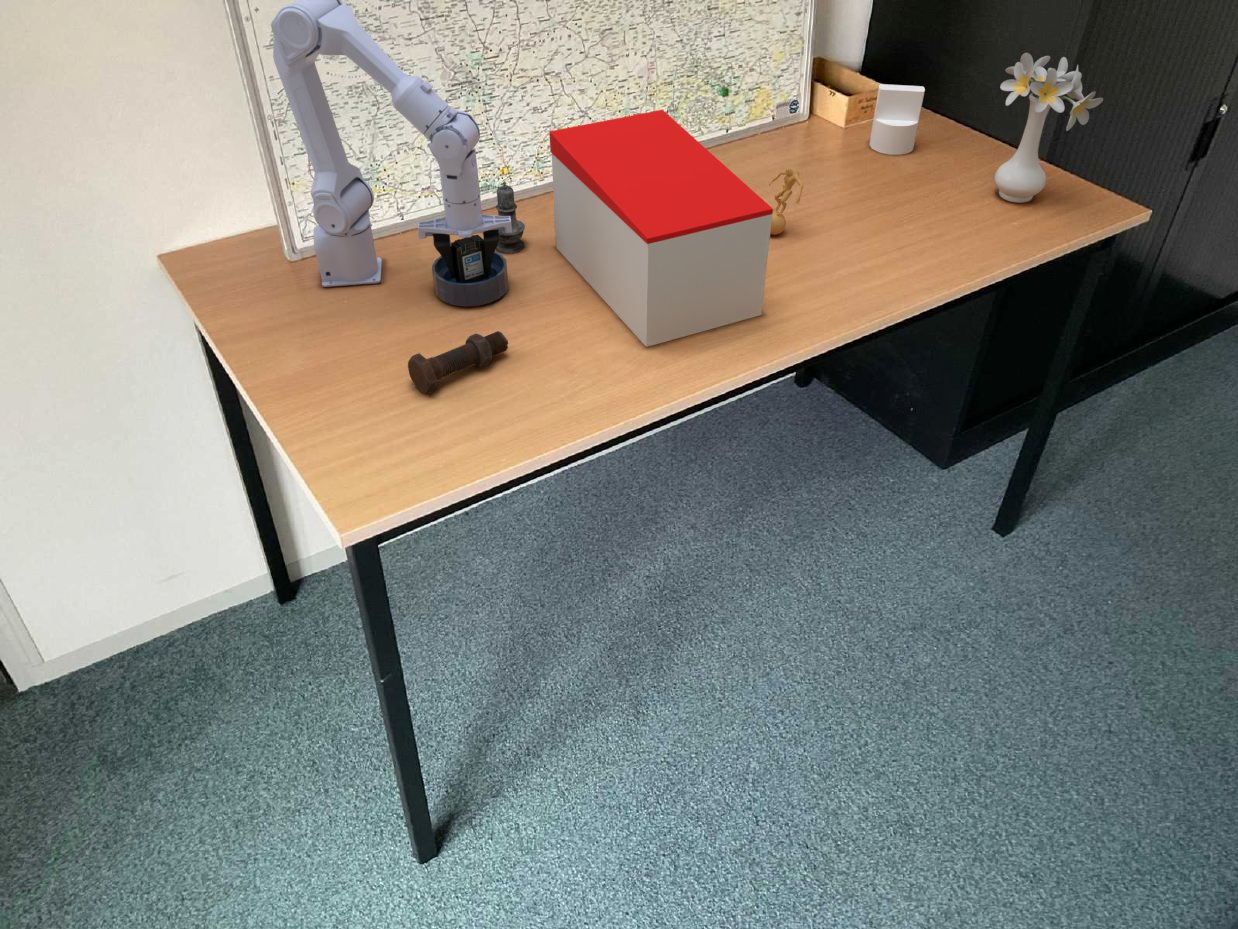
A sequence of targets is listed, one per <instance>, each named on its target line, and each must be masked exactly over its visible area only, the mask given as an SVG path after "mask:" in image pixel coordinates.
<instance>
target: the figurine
mask: <svg viewBox="0 0 1238 929" xmlns="http://www.w3.org/2000/svg"><path fill="white" fill-rule="evenodd" d="M782 175H783V176H784V177H783V180H784V181H783V182H784V184H781V186H780V188H779V190H778V191H777V193H775V195H774V200H775V201H776V203H777V206H776V207H775V208H774V209H773V213H772V221H771V231H770V235H771V236H772V235H774V236H775V235H779V234H781V233H783V231H785V228H786V225H787V220H786V217H785V216H784V215H783V214H784V212H785V210H786V208H787V205H788V204H787V201H788V200H789V198H790V197H791V196H792V195H793V190H792V188H793V186H794V185H795V183H797V184H798V186H799V190H798V194H797V198H796V199H795V204H796V205H799V204H800V202H801V196H802V192H803V189H804V184H803V182H802V180H801V178H800V171H799V169H797V168H791V167H787V168H786V169H785V170H782V171H780V172H779V173H778V174H777V175H776V176H774V177H773V178H772V180H771V181H770V183H769V184H768V187H771V185H772V184H773V183H774V182H775V181H777V180H778V179H779V178H780V177H781V176H782ZM780 197H781V199H780ZM781 206H782V208H781V210H780V211H778V210H779V209H780V207H781Z"/></svg>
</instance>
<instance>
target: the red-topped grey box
mask: <svg viewBox="0 0 1238 929" xmlns="http://www.w3.org/2000/svg"><path fill="white" fill-rule="evenodd" d="M548 134H549V135H548V136H549V151H550V153H551V168H552V172H551V173H552V191H553V192H552V193H553V194H552V195H553V210H554V211H553V212H554V213H553V214H554V215H553V216H554V232H555V234H554V235H555V236H554V237H555V248H556V249H557V250H558V251H559V252H560V254H561V255H562V256H563V257H564V258H565V259H566V260H567V261H568V263H569V264H570V265H571V266H572V267H573V268H574V269H575V270H576V271H577V272H578V273H579V275H581V277H582V278H583V279H584V280H585V281H586V282H587V284H588V285H589V286H590V287H591V288H592V289H593V290H594V291H595V293H596V294H597V295H598V296H599V297H600V298H601V299H602V300H603V301H604V302H605V303H606V304H607V305H608V307H609V309H611V311H613V312H614V313H615V314H616V316H617V317H618V318H619V319H620V320H621V321H622V322H623V323H624V324H625V326H626V327H627V328H628V329H629V330H630V331H631V332H632V333H633V334H634V335H635V337H636V338H637V339H638V340H639V341H640V342H641V343H642V344H643V345H644V347H646V348H648V347H652V346H655V345H659V344H662V343H666V342H670V341H673V340H677V339H680V338H685V337H687V336H691V335H695V334H699V333H703V332H705V331H710V330H713V329H716V328H720V327H723V326H727V325H731V324H735V323H738V322H741V321H745V320H749V319H753V318H756V317H760V316H762V313H763V307H764V306H763V304H764V296H765V286H766V276H767V268H768V258H769V250H770V239H771V234H770V231H771V221H772V213H773V210H774V209H773V207H772V206H770V204H768V203H767V202H766V201H765V200H764V199H763V198H762V197H761V196H759V195H758V193H756V191H754V190H753V189H752V188H751V187H750V186H748V185H747V184H746V183H745V182H744V181H743V180H741V178H739V177H738V176H737V175H736V174H735V173H734V172H732V171H731V169H729V168H728V166H726V165H725V164H724V163H723V162H721V161H720V159H718V157H716V156H715V155H714V154H713V153H712V152H710V150H708V148H706V147H705V146H704V145H703V144H702V143H700V142H699V141H698V140H697V139H696V138H695V137H694V136H693V135H692V134H690V133H689V132H688V131H687V130H686V129H685V128H683V126H681V125H680V124H679V123H678V122H677V121H676V120H675V119H674V118H672V116H670V115H669V114H668V113H667V112H666V111H665V110H664V109H659V110H653V111H648V112H643V113H637V114H632V115H628V116H622V117H616V118H612V119H611V118H610V119H606V120H601V121H596V122H591V123H586V124H580V125H574V126H569V127H564V128H560V129H555V130H549V133H548Z"/></svg>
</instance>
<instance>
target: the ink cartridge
mask: <svg viewBox="0 0 1238 929" xmlns="http://www.w3.org/2000/svg"><path fill="white" fill-rule="evenodd" d="M451 252H452V258H453V265H454V269H455V278H456V283H476V282H480V281H484V280H487V279H489V276H488V275H486V269H485V248H484V237H482V236H480V235H479V234H472V237H467V238H458V239H456V240H454V241H453V242H451Z"/></svg>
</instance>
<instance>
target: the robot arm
mask: <svg viewBox="0 0 1238 929" xmlns="http://www.w3.org/2000/svg"><path fill="white" fill-rule="evenodd" d="M270 28H271V30H272V33H273V35H274V36H273V37H274V39H273V49H272V50H273V52H272V54H273V55H272V58H273V62H274V65H275V68H276V70H277V73H278V76H279V79H280V81H281V84H282V87H283V89H284V92H285V96H286V98H287V101H288V103H289V106H290V109H291V112H292V115H293V117H294V119H295V123H296V126H297V128H298V131H299V133H300V136H301V139H302V141H303V145H304V147H305V150H306V153H307V155H308V158H309V160H310V164H311V166H312V170H313V171H314V177H313V179H312V185H311V189H310V196H311V198H312V203H313V208H312V209H313V210H312V215H313V218H314V220H315V222H316V224H317V226H316V225H315V226H314V227H313V246H314V251H315V255H316V261H317V265H318V269H319V275H320V278H321V286H322V287H323V288H332V287H343V286H357V285H368V284H369V285H370V284H379V283H381V280H382V267H383V258H382V257H377V252H376V246H375V240H374V236H373V235H374V234H373V229H372V224H371V218H370V217H371V214H370V209H372V207H373V205H374V201H375V195H374V191H373V190H372V187H371V186H370V185H369V183H368V182H367V181H366V180H365V178H364V177H363V175H362V171H361V168H359V167H358V166H356V165H354V164H353V163H350V162H349V160H348V157H347V154H346V151H345V147H344V144H343V142H342V139H341V135H340V133H339V130H338V127H337V124H336V121H335V118H334V114H333V113H332V110H331V107H330V104H329V101H328V98H327V95H326V92H325V89H324V86H323V83H322V80H321V78H320V75H319V72H318V68H317V65H316V60H317V59H318V57H319V55H321V56H345V57H346V58H348V59H349V60H350V61H351V62H352V63H354V64H355V66H357V67H358V68H360V69H361V70H362V71H363V72H364V73H365V74H366V75H368V76H370V78H372V79H373V80H374V81H375V82H377V83H378V85H380V86H381V87H382V88H383V89H385V90H386V91H387V92H388V93H390V96H391V101H392V107H393V108H394V109H395V110H396V111H397V112H398V113H399V114H400V115H401V116H402V117H403V118H405V119H406V121H408V122H409V123H410V124H411V125H412V126H413V127H414V128H415V129H416V130H417V131H418V132H419V133H420V134H422V135H423V136H424V137H425V138H426V139H427V140H428V141H429V142H430V143H428V148H429V152H430V153H431V154H432V156H433V157H434V158H435V159H436V161H437V163H438V169H439V176H440V184H441V192H442V202H443V210H444V216H443V217H439V218H434V219H431V220H426V221H425V220H424V221H418V222H417V232H418V239H419V240H425V239H426V238H427V237H432V238H433V239H432V240H433V246H434V248H435V250H436V251H437V252H438V253H439V256H442V258H443V259H444V261H445V263H446V265H447V267H448V269H449V272H450V275H451V278H455V269H454V265H453V258H452V252H451V243H452V242H451V236H458V238H459V239H463V238H467V237H472V235H477V234H481V233H482V235H483V236H482V238H483V239H484V248H485V269H486V275H490V269H491V263H492V259H493V255H494V253H495V251H497V250H496V248H497V246H498V243H499V231H505V233H512V226H511V217H510V216H498V215H493V214H483V209H482V201H481V199H482V198H481V191H480V190H481V188H480V180H479V169H478V161H477V152H476V151H477V150H476V149H475V147H476V146H477V145H478V143H479V141H480V139H481V138H480V137H481V130H480V127H479V125H478V123H477V122H476V120H475V119H474V118H473V116H472V114H470V113H468V112H466V111H464V110H458V109H455V107H451V106H450V105H449V104H448V103H447V102H446V101H445V100H444V99H443V98H442V97H441V96H440V95H439V94H438V93H437V92H435V90H434V89H433V84H432V83H431V82H429V81H428V80H427V79H426V80H425V81H424V80H423V79H422V78H421V77H420V76H414V75H407V74H406V73H405V72H404V71H403V70H402V69H401V68H400V67H399V66H398V65H397V63H396V62H394V61H393V59H392V58H391V57H390V56H389V55H388V54H387V53H386V52H385V50H384V49H383V48H381V46H380V45H379V44H378V42H376V41H375V40H374V39H373V38H372V37H371V35H370V34H369V33H368V32H367V31H366V30H365V29H364V28H363V26H361V25H360V23H359V22H358V19H357V17H356V15H355V12H354V11H353V9H352V8H351V7H350V6H348V5H347V4H346V3H343V1H342V0H295V1H294V2H292V3H290V4H287V5H284V6H283V7H281V8H280V9H279V10H278V12H277V13H276V15H275V17H273V20H272V21H271V22H270Z"/></svg>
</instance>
